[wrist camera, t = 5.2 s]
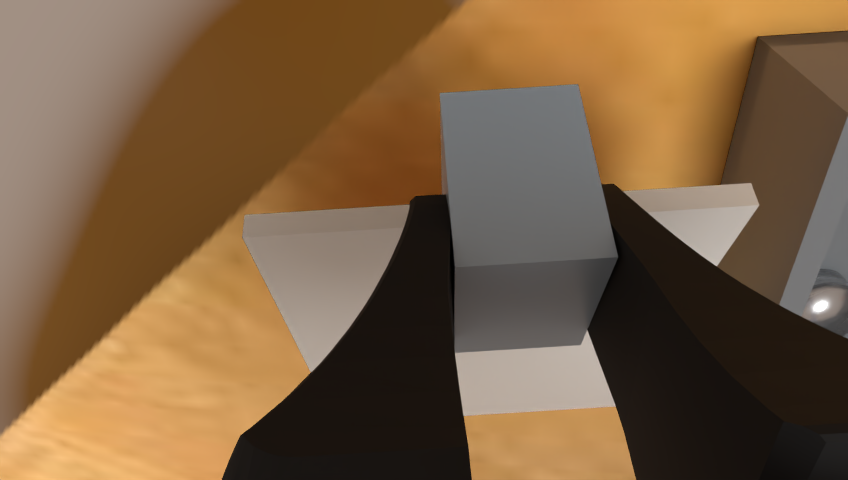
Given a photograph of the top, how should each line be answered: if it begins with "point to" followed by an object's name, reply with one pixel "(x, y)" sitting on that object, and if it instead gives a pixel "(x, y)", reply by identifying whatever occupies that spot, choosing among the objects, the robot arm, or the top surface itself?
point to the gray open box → (792, 166)
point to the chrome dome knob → (829, 302)
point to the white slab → (494, 250)
